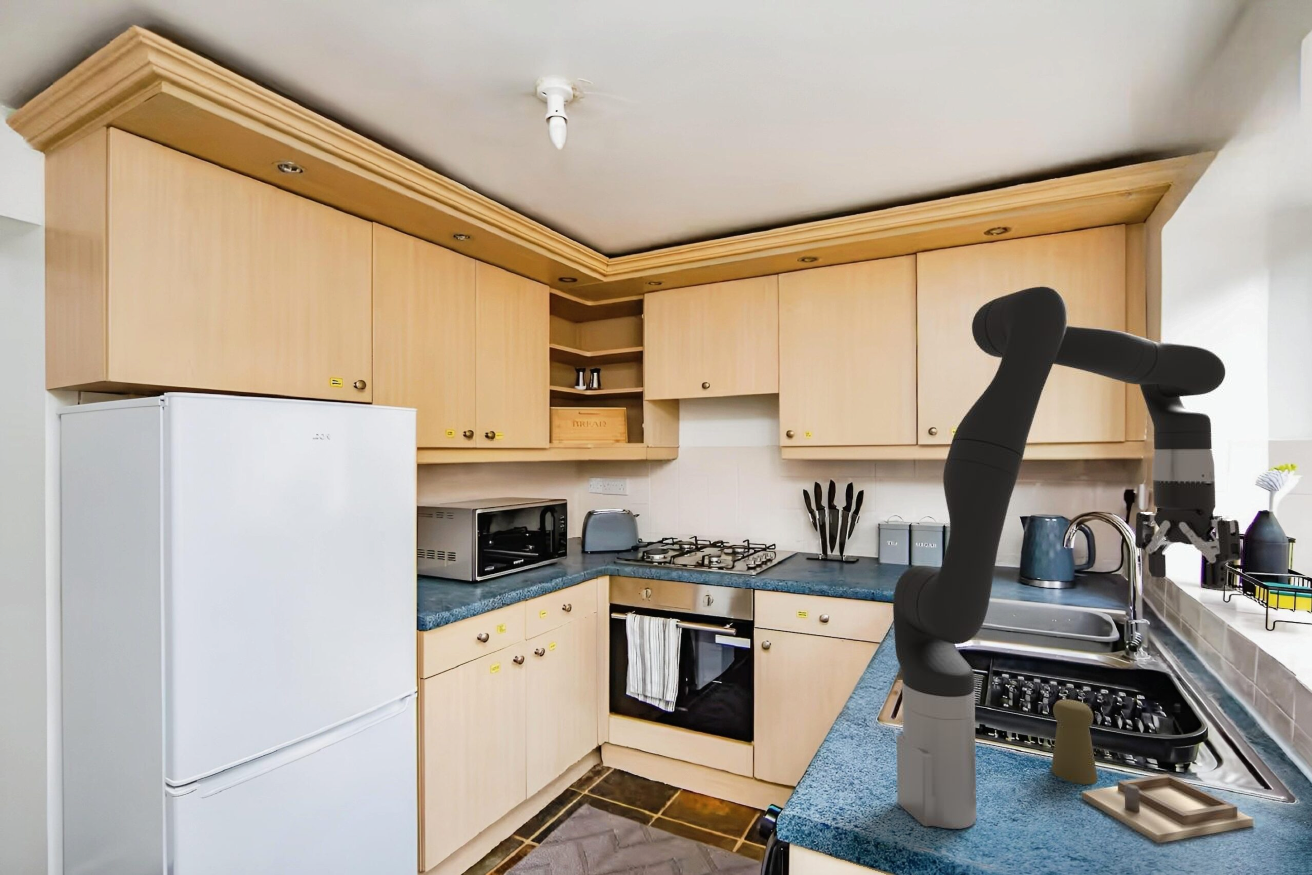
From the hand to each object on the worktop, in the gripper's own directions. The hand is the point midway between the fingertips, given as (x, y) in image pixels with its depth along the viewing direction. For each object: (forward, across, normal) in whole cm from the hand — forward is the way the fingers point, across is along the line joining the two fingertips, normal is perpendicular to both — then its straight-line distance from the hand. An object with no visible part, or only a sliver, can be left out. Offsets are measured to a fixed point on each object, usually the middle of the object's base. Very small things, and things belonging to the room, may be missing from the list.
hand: (1185, 582), depth 101 cm
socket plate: (+29, +8, -15) cm, 34 cm away
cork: (+30, -4, -18) cm, 35 cm away
